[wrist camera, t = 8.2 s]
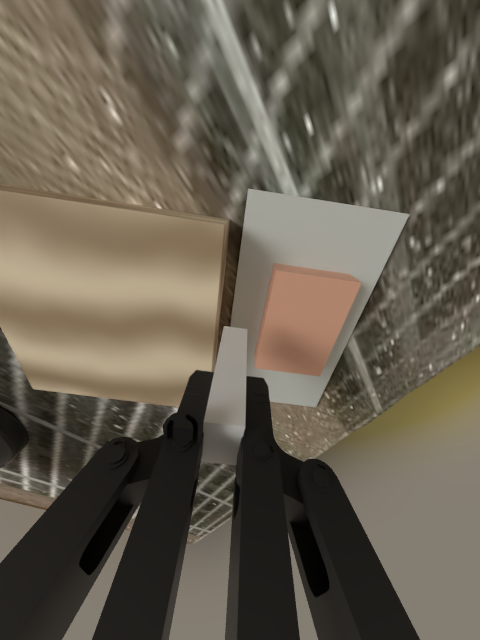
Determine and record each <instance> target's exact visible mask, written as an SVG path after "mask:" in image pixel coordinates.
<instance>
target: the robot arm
mask: <svg viewBox="0 0 480 640" xmlns="http://www.w3.org/2000/svg"><path fill="white" fill-rule="evenodd" d="M246 371H247V329H242V328H235V327H228V326H224V328H223V333H222V338H221V342H220V347H219V352H218V356H217V361H216V366H215V371H214V372H209V371H201V370H196V371H195V372H194V373H193V374H192V375H191V376H190V377H189V380H188V383H187V386H186V389H185V391H184V394H183V397H182V400H181V403H180V406H179V409H178V412H177V413H174V414H172V415H171V416H170V417H169V418H167V420H166V421H165V423H164V425H163V432H164V435H162V436H160V437H158V438H155V439H152V440H147V441H142V442H138V443H136V441H134V440H133V439H132V438H129V437H120V438H115V439H113V440H111V441H109V442H107V443H106V444H105V445H104V446H103V447H102V448H100V449H99V450H98V452H97V453H96V454H95V455H94V456H93V457H92V458H91V460H90V461H89V462H88V463H87V464H86V465H85V467H84V468H83V469H82V470H81V471H80V472H79V473H78V475H77V476H76V477H75V478H74V479H73V480H72V481H71V483H70V484H69V485H68V486H67V487H66V488H65V490H64V491H63V492H62V493H61V494H60V495H59V496H58V498H57V499H56V500H55V501H54V502H53V503H52V504H51V506H50V507H49V508H48V509H47V510H46V512H45V513H44V514H43V515H42V516H41V517H40V518H39V519H38V521H37V522H36V523H35V524H34V525H33V526H32V527H31V529H30V530H29V531H28V532H27V533H26V534H25V536H24V537H23V538H22V539H21V540H20V541H19V543H18V544H17V545H16V546H15V547H14V548H13V550H11V552H10V553H9V554H8V555H7V556H6V557H5V559H4V560H3V561H2V562H1V563H0V640H62V638H63V637H64V635H65V633H66V631H67V630H68V628H69V626H70V624H71V623H72V621H73V619H74V617H75V615H76V614H77V612H78V610H79V609H80V607H81V605H82V603H83V602H84V600H85V598H86V596H87V595H88V593H89V591H90V589H91V588H92V586H93V584H94V582H95V581H96V579H97V577H98V575H99V574H100V572H101V570H102V568H103V567H104V565H105V563H106V561H107V560H108V558H109V556H110V554H111V552H112V551H113V549H114V547H115V546H116V544H117V542H118V540H119V539H120V537H121V535H122V533H123V532H124V530H125V528H126V526H127V525H128V523H129V521H130V519H131V518H132V516H133V514H134V512H135V511H136V509H137V507H138V505H139V504H140V503H141V505H140V508H139V511H138V513H137V516H136V519H135V522H134V524H133V527H132V530H131V533H130V536H129V538H128V541H127V544H126V547H125V549H124V552H123V555H122V558H121V561H120V563H119V566H118V569H117V572H116V574H115V577H114V580H113V583H112V586H111V589H110V591H109V594H108V597H107V600H106V602H105V605H104V608H103V611H102V613H101V616H100V619H99V622H98V625H97V627H96V630H95V633H94V636H93V638H92V640H169V634H170V629H171V623H172V618H173V613H174V608H175V602H176V596H177V591H178V585H179V581H180V575H181V570H182V564H183V559H184V553H185V548H186V543H187V537H188V532H189V526H190V521H191V516H192V510H193V505H194V499H195V494H196V489H197V483H198V476H199V469H200V463H201V462H209V463H218V464H226V465H235V466H236V477H235V481H234V485H233V489H232V491H233V492H234V496H233V513H232V530H231V548H230V565H229V581H228V598H227V615H226V633H225V640H300V637H299V629H298V619H297V610H296V601H295V593H294V584H293V575H292V566H291V557H290V548H289V540H288V533H289V537H290V541H291V544H292V548H293V551H294V555H295V558H296V562H297V565H298V569H299V573H300V576H301V580H302V583H303V587H304V590H305V594H306V597H307V601H308V604H309V608H310V612H311V615H312V618H313V622H314V626H315V629H316V633H317V637H318V640H420V639H419V637H418V635H417V633H416V631H415V629H414V627H413V626H412V624H411V621H410V619H409V617H408V615H407V613H406V611H405V609H404V607H403V606H402V603H401V602H400V599H399V598H398V596H397V594H396V592H395V590H394V588H393V586H392V584H391V582H390V580H389V578H388V576H387V574H386V572H385V570H384V568H383V566H382V564H381V562H380V560H379V558H378V556H377V554H376V552H375V550H374V548H373V547H372V545H371V543H370V541H369V539H368V537H367V535H366V533H365V531H364V529H363V527H362V525H361V523H360V521H359V519H358V517H357V515H356V513H355V511H354V509H353V507H352V505H351V503H350V501H349V499H348V497H347V495H346V494H345V492H344V490H343V488H342V486H341V484H340V482H339V480H338V478H337V476H336V475H335V473H334V472H333V470H332V469H331V468H330V467H329V466H328V465H327V464H326V463H324V462H322V461H320V460H318V459H308V460H306V461H305V462H303V461H300V460H298V459H296V458H294V457H292V456H290V455H288V454H287V453H285V452H284V451H283V450H282V449H281V448H280V447H279V446H278V445H277V443H276V441H275V439H274V436H273V429H272V419H271V409H270V399H269V389H268V385H267V383H266V381H265V380H264V378H260V377H252V376H246ZM27 443H28V435H27V432H26V430H25V429H24V427H23V426H22V425H21V423H20V422H19V421H18V420H17V419H16V418H14V417H13V416H12V415H11V414H10V413H8V412H7V411H5V410H4V409H3V408H1V407H0V468H2V467H4V466H5V465H7V464H8V463H10V462H11V461H12V460H13V459H14V458H15V457H16V456H17V455H18V454H19V453H20V452H21V451H22V449H23V448H24V447H25V446H26V445H27ZM236 463H237V465H236Z"/></svg>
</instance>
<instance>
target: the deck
mask: <svg viewBox="0 0 480 640" xmlns="http://www.w3.org/2000/svg"><path fill="white" fill-rule="evenodd" d="M229 228H230V219H225V218H218V217H211V216H205V215H198V214H192V213H185V212H179V211H172V210H166V209H159V208H153V207H146V206H140V205H133V204H127V203H120V202H114V201H107V200H101V199H94V198H88V197H81V196H75V195H68V194H62V193H55V192H49V191H42V190H36V189H29V188H23V187H16V186H10V185H3V184H0V327H1V329H2V331H3V333H4V335H5V337H6V338H7V340H8V342H9V344H10V346H11V348H12V350H13V352H14V354H15V356H16V358H17V360H18V361H19V363H20V365H21V367H22V369H23V371H24V373H25V375H26V377H27V379H28V381H29V383H30V385H31V386H32V388H33V389H36V390H45V391H53V392H61V393H69V394H77V395H85V396H93V397H101V398H110V399H118V400H126V401H134V402H142V403H150V404H158V405H166V406H175V407H179V406H180V403H181V400H182V397H183V394H184V391H185V389H186V386H187V383H188V380H189V377H190V376H191V375H192V374H193V373H194V372H195V371H196V370H201V371H209V372H214V371H215V366H216V356H217V346H218V336H219V326H220V316H221V307H222V297H223V287H224V277H225V267H226V257H227V247H228V237H229Z"/></svg>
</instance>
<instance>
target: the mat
mask: <svg viewBox="0 0 480 640" xmlns="http://www.w3.org/2000/svg"><path fill="white" fill-rule="evenodd" d="M409 215H410V214H405V213H398V212H392V211H386V210H380V209H373V208H367V207H361V206H354V205H348V204H342V203H335V202H329V201H323V200H317V199H310V198H304V197H298V196H291V195H285V194H279V193H272V192H266V191H260V190H254V189H248V195H247V202H246V210H245V218H244V225H243V233H242V240H241V248H240V256H239V263H238V271H237V278H236V286H235V294H234V301H233V309H232V316H231V324H230V327H235V328H242V329H247V371H246V376H252V377H260V378H264V380H265V381H266V383H267V385H268V389H269V399H270V401H271V402H279V403H287V404H295V405H303V406H311V407H316V406H317V404H318V402H319V400H320V398H321V396H322V394H323V391H324V389H325V387H326V385H327V383H328V381H329V379H330V377H331V375H332V373H333V371H334V369H335V367H336V365H337V363H338V361H339V359H340V357H341V354H342V352H343V350H344V348H345V346H346V344H347V342H348V340H349V338H350V336H351V334H352V332H353V330H354V328H355V326H356V324H357V322H358V319H359V317H360V315H361V313H362V311H363V309H364V307H365V305H366V303H367V301H368V299H369V297H370V295H371V293H372V291H373V289H374V287H375V285H376V282H377V280H378V278H379V276H380V274H381V272H382V270H383V268H384V266H385V264H386V262H387V260H388V258H389V256H390V254H391V252H392V250H393V247H394V245H395V243H396V241H397V239H398V237H399V235H400V233H401V231H402V229H403V227H404V225H405V223H406V221H407V219H408V217H409ZM274 263H277V264H284V265H291V266H298V267H304V268H311V269H318V270H325V271H332V272H339V273H346V274H350V275H352V276H353V277H354V278H356V279H357V280H359V281H360V282H361V286H360V288H359V290H358V292H357V295H356V297H355V299H354V301H353V303H352V306H351V308H350V310H349V312H348V315H347V317H346V319H345V321H344V324H343V326H342V328H341V330H340V333H339V335H338V337H337V339H336V342H335V344H334V346H333V348H332V351H331V353H330V355H329V357H328V359H327V362H326V364H325V366H324V368H323V371H322V373H321V375H320V376H312V375H304V374H296V373H288V372H281V371H273V370H265V369H257V368H255V362H254V353H255V348H256V344H257V339H258V334H259V329H260V325H261V320H262V315H263V311H264V306H265V301H266V297H267V292H268V287H269V283H270V278H271V273H272V269H273V264H274Z"/></svg>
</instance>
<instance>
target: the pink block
mask: <svg viewBox="0 0 480 640" xmlns="http://www.w3.org/2000/svg"><path fill="white" fill-rule="evenodd" d="M360 286H361V282H360V281H359V280H357V279H356V278H354V277H353V276H352V275H350V274H346V273H339V272H332V271H325V270H318V269H311V268H304V267H298V266H291V265H284V264H277V263H274V264H273V269H272V273H271V278H270V283H269V287H268V292H267V297H266V301H265V306H264V311H263V315H262V320H261V325H260V329H259V334H258V339H257V344H256V348H255V353H254V362H255V368H257V369H265V370H273V371H281V372H288V373H296V374H304V375H312V376H320V375H321V373H322V371H323V368H324V366H325V364H326V362H327V359H328V357H329V355H330V353H331V351H332V348H333V346H334V344H335V342H336V339H337V337H338V335H339V333H340V330H341V328H342V326H343V324H344V321H345V319H346V317H347V315H348V312H349V310H350V308H351V306H352V303H353V301H354V299H355V297H356V295H357V292H358V290H359V288H360Z"/></svg>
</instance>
